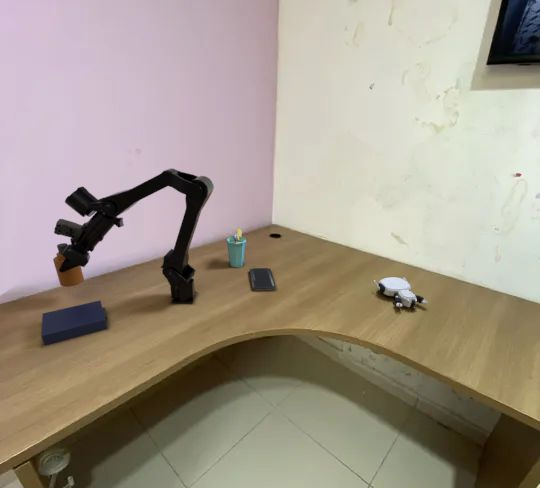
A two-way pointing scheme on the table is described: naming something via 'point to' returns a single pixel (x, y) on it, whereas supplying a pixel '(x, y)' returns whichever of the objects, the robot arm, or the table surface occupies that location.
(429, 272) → the table surface
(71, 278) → the bottle
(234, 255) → the cup
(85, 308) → the case
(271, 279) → the phone
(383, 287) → the robot toy
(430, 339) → the table surface
